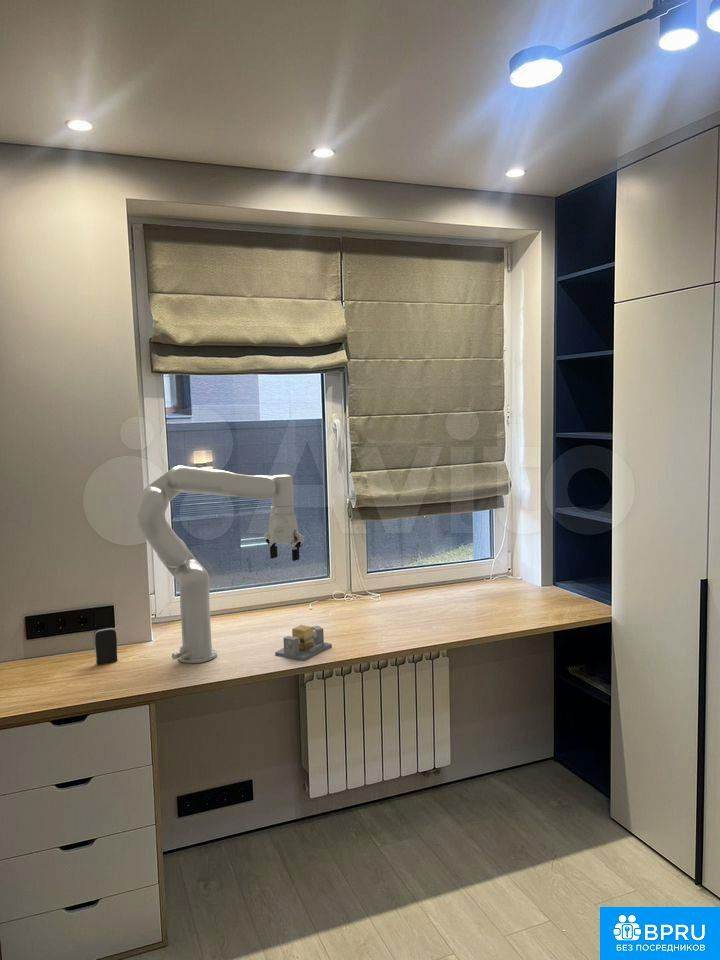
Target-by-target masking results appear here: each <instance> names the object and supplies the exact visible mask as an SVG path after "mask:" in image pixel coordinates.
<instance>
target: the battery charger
mask: <svg viewBox="0 0 720 960" xmlns="http://www.w3.org/2000/svg"><path fill="white" fill-rule="evenodd" d="M117 638H118V636H117V631H116V630H115V629H114V628H112V627H105V628H100V629H99V628H98V629H96V630H95V631H94V632H93V645H94V652H95V664H96V665H97V666H101V664H102V665H107V664H111V662H112V663H115V662H117V661H118V639H117ZM106 663H107V664H106Z"/></svg>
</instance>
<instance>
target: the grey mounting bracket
mask: <svg viewBox="0 0 720 960" xmlns="http://www.w3.org/2000/svg"><path fill="white" fill-rule="evenodd" d="M312 627H313V635H314V638H313V646H314V647H312V648H310V649H308V650H306V651H301V650H299V644H300V640H299V638H297V637H292V636H291V635H287V636H285V637H283V647H282V648H281V649H279V650H276V651H275V652H274V654H275V656H278V657H283V658H288V659H293V660H298V661H302V660H303V661H306V660H308V659H310V658H312V657H314V656H316V655H318V654H320V653H322V652H323V651H326V650H328V649H330V648H332V647H333V645H332V643H329V642H325V641H324V640H325V639H324V638H325V636H324V628H323V627H321V626H319V625H314V626H312Z"/></svg>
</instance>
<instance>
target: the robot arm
mask: <svg viewBox="0 0 720 960" xmlns="http://www.w3.org/2000/svg"><path fill="white" fill-rule="evenodd" d="M181 493H186V494H197V495H199V494H201V495H210V496H219V497H235V498H246V499H256V500H257V499H258V500H268V499H271V506H270V508H269V509H270V510H271V513H270V514H269V520H268V521H269V522H268V531H267V532H265V533H264V534H263V537H264V539H265V542H266V544H267V547H269V551H270V552H269V554H270V555H269V557H270V559H272V560H273V559H276V558H278V556H279V555H278V545H277V544H281V545H290V546H291V547H292V550H291V560H292V562H295V561H298V560H300V549H301V547H302V546H303V544H304V542H305V539H306V536H304V535H303V534H301V533H300V532H299V528H298V521H297V517H296V513H295V508H294V507H295V505H294V480H293V476H292V475H291V474H276V475H275V474H274V475H261V474H258V475H248V474H240V473H235V472H230V471H226V470H222V469H213V468H211V469H210V468H201V467H200V468H199V467H191V466H185V465H177V466H176V465H175V466H174V467H172V468H170V469H169V470H168V471H167V472H165V473H164V474H163V475H161V476H160V477H159V478H157V479H155V480H154V481H153V482H151V483H150V484H148V485H147V486H145V488H144V489H143V490H142V491H141V493H140V494H139V507H138V510H137V511H138V512H137V523H138V524H137V525H138V528H139V530H140V532H141V534H142V535H143V536H144V538H145V539H146V541H147V542H148V543H149V545H150V547H151V548H152V549H153V550H154V552H156V556H157V557H158V559H159V560H160V561H161V562H162V564H163V565H164V567H165V568H166V569H167V570H168V572H169V573H170V574H171V575H172V576H173V579H175V580H176V582H177V583H178V584H179V592H180V593H179V604H180V605H179V608H180V625H181V641H182V642H181V643H182V644H181V645H182V646H180V647H179V648H180V649H179V651H177V652H174V653H172V655H171V658H172V660H176V659H178V661H179V662H181V663H186V664H198V663H199V664H200V663H205V662H209V661H211V660H212V661H213V659H215V658H216V657H217V654H218V653H217V650H216V649H214V648H213V647H212V629H211V628H212V627H211V606H210V589H211V587H210V586H211V585H210V584H211V581H210V579H211V578H210V575H209V573H208V571H207V569H205V567H204V566H203V565H202V564H201V563H200V562H199V561H198V560H197V559H196V558H195V556H194V555H193V553H192V552H191V551H190V549H189V548H188V546H187V544H186V543H185V541H184V540H183V539H181V538H180V537H179V535H177V533H176V532H175V531H174V529H173V528H172V527H171V525H170V524H169V522H168V521H167V519H166V511H167V509H168V507H169V504H170V501H172V500H173V499H175V497H178V495H180V494H181Z"/></svg>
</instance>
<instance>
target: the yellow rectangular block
mask: <svg viewBox="0 0 720 960" xmlns="http://www.w3.org/2000/svg"><path fill="white" fill-rule="evenodd" d="M291 631H292V632H291V633H292V637H297V638H299V640H300V644H299V650H301V651H306V650H308V649H310V648H312V647H314V646H313V638H314V635H313V626H309V625H303V624H300V625H298V626H295V627H293V628H292V629H291Z"/></svg>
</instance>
